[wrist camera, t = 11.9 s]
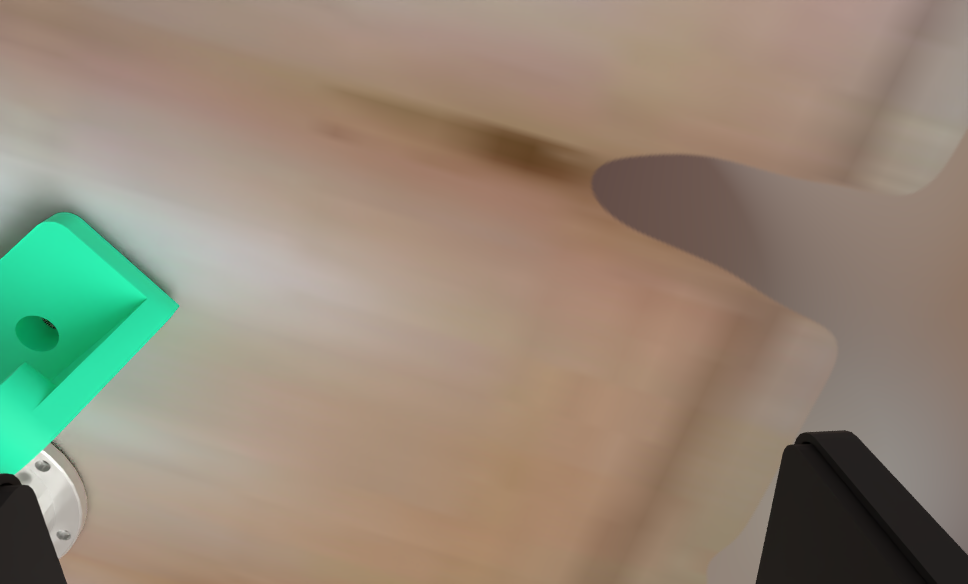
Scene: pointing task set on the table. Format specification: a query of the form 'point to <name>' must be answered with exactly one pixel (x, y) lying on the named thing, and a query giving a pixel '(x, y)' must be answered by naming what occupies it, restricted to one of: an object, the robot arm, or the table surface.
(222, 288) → the table surface
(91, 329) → the camera mount
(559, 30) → the table surface
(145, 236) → the table surface
